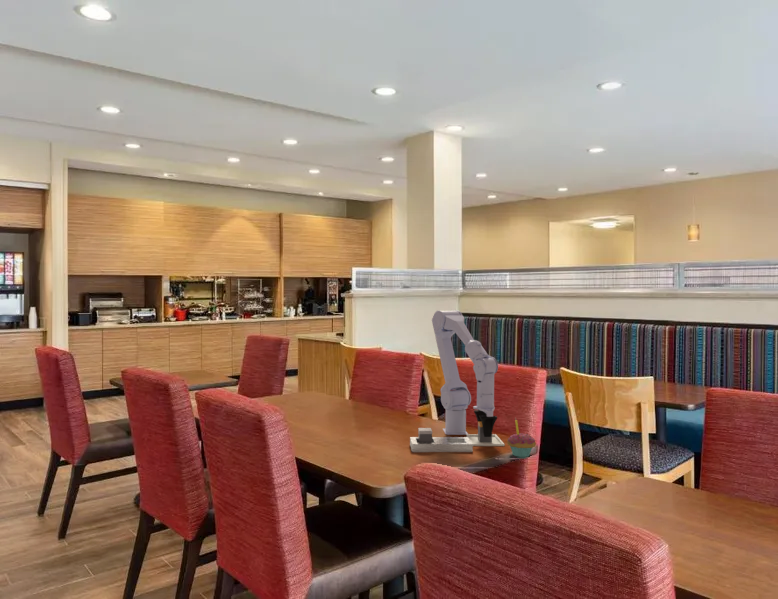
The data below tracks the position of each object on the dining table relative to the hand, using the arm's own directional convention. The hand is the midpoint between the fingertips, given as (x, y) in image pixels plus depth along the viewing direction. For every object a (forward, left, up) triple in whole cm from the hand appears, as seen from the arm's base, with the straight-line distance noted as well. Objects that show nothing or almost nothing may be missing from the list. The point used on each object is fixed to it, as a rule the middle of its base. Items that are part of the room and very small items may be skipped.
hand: (485, 434), depth 205 cm
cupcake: (+17, +8, -3) cm, 19 cm away
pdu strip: (+9, -16, -3) cm, 19 cm away
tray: (0, 0, -3) cm, 3 cm away
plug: (0, 0, -2) cm, 2 cm away
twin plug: (+9, -21, -2) cm, 23 cm away
